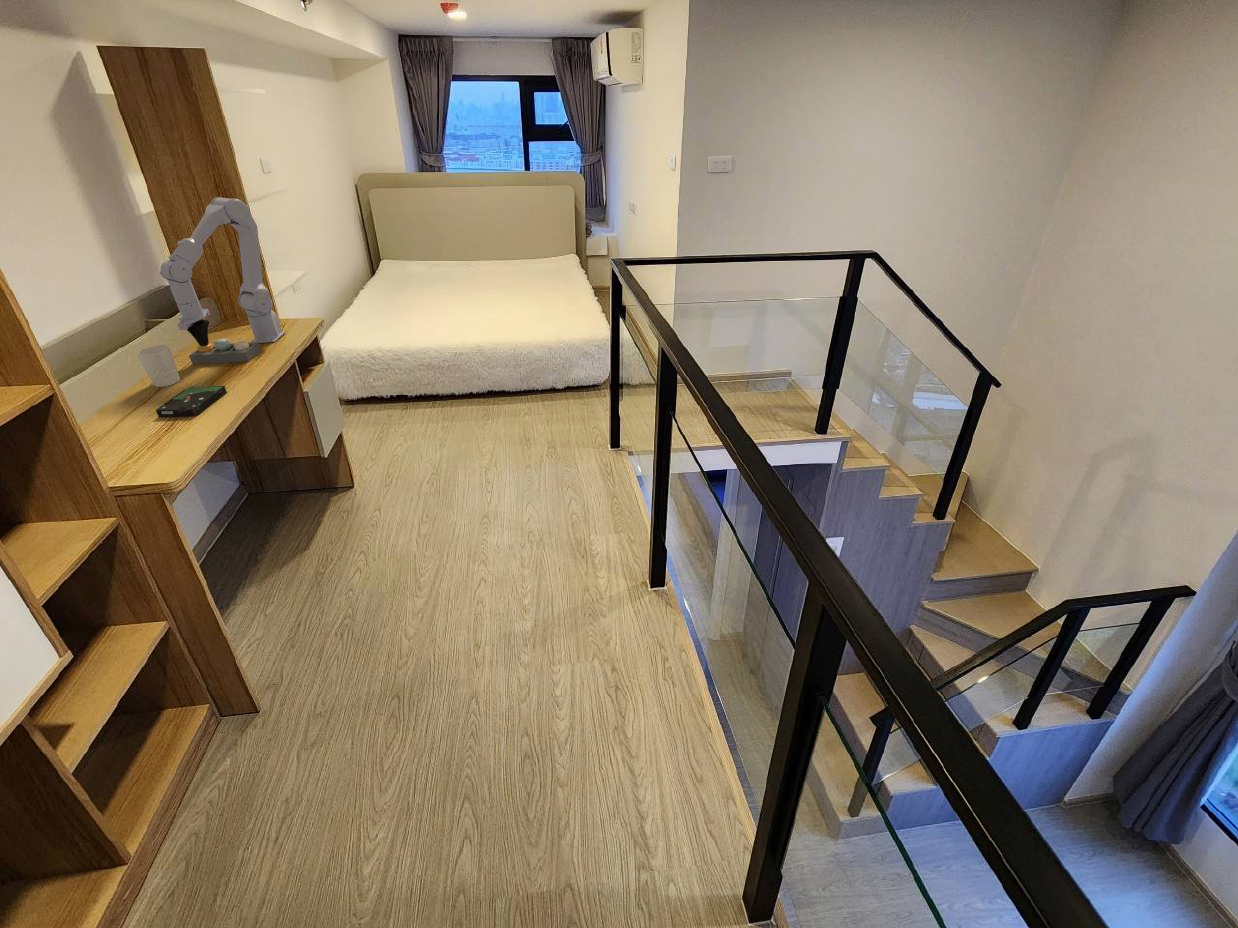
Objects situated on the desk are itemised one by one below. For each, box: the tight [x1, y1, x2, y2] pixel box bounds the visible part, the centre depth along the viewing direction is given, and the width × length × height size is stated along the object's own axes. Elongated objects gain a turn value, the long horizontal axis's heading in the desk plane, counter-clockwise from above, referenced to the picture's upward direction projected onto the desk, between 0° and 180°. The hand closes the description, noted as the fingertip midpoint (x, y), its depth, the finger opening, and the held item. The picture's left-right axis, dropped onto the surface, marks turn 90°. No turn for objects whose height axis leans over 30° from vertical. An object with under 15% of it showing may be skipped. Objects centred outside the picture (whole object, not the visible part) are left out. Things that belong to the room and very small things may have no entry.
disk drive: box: [155, 385, 228, 418], centre depth 168 cm, size 10×3×15 cm
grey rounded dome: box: [213, 338, 231, 351], centre depth 196 cm, size 4×4×3 cm
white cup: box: [136, 344, 181, 388], centre depth 180 cm, size 8×8×10 cm
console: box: [188, 341, 262, 366], centre depth 198 cm, size 9×17×3 cm, turn 94°
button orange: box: [197, 342, 214, 353], centre depth 197 cm, size 4×4×3 cm
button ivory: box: [234, 340, 250, 351], centre depth 197 cm, size 4×4×3 cm
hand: (204, 345), depth 196 cm, fingers closed
